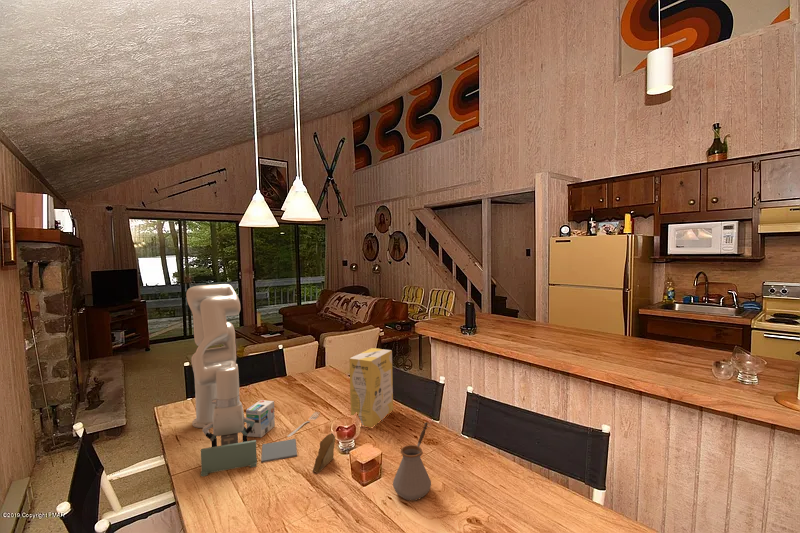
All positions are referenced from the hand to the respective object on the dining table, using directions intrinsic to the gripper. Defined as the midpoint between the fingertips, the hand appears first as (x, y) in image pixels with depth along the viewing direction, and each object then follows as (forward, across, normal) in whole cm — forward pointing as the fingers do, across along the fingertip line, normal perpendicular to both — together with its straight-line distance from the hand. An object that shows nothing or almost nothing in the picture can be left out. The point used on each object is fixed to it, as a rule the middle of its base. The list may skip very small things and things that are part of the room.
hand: (230, 447), depth 136 cm
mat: (+2, +17, -4) cm, 18 cm away
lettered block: (+2, 0, 0) cm, 2 cm away
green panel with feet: (+2, +1, -10) cm, 10 cm away
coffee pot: (+3, +58, -39) cm, 70 cm away
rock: (+3, +31, -18) cm, 36 cm away
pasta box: (+3, +56, +11) cm, 57 cm away
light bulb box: (+3, +10, +15) cm, 18 cm away
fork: (+3, +26, +13) cm, 29 cm away
